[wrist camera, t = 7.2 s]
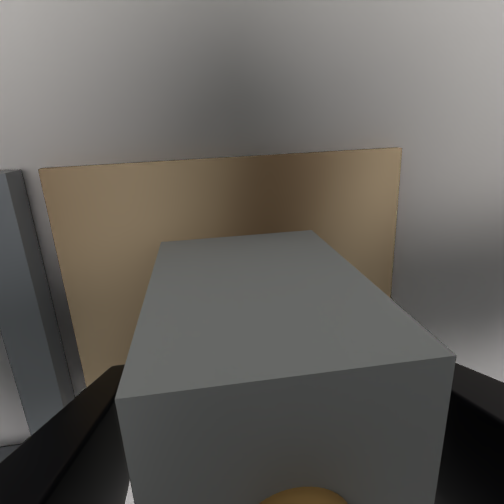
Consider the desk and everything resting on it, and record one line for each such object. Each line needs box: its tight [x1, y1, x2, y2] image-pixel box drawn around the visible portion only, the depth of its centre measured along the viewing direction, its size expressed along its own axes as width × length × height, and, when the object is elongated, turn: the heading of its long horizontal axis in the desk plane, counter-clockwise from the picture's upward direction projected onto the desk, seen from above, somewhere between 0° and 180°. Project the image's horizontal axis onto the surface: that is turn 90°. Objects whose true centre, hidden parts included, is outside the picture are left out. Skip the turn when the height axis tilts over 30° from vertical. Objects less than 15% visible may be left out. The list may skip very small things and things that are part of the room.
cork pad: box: [38, 147, 402, 387], centre depth 11 cm, size 9×9×1 cm
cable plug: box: [115, 230, 456, 504], centre depth 7 cm, size 4×5×7 cm
